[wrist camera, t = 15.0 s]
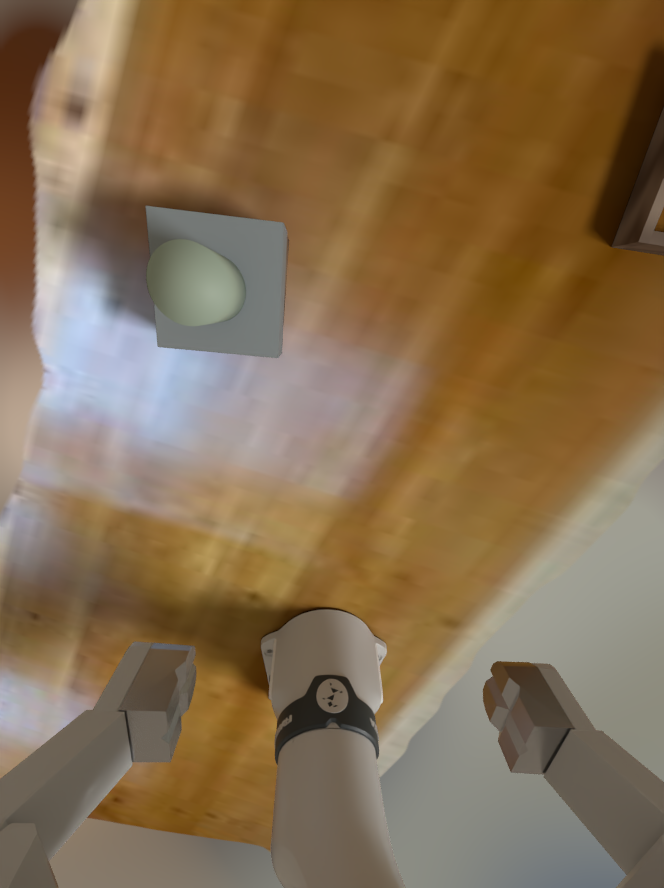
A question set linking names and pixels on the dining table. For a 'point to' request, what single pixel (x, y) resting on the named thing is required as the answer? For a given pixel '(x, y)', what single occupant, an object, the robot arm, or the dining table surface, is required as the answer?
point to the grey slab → (260, 265)
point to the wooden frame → (645, 202)
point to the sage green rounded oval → (194, 283)
